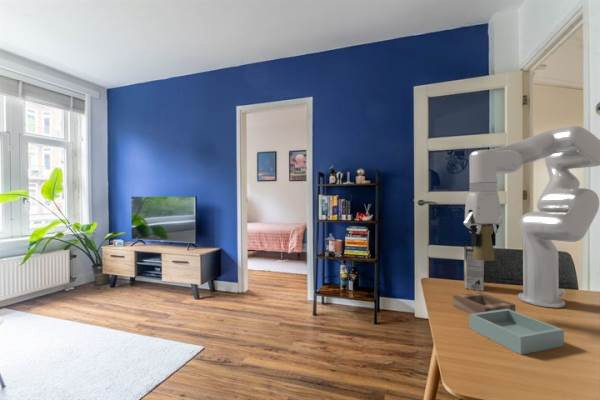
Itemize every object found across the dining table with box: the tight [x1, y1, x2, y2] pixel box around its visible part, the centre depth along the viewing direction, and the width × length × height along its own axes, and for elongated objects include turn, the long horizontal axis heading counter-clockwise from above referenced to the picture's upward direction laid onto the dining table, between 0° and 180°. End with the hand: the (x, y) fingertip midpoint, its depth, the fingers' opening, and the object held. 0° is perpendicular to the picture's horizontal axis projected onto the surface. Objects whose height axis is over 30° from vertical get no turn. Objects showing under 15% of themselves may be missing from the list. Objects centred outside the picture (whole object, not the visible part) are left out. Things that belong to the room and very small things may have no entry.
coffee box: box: [463, 245, 485, 292], centre depth 117 cm, size 9×6×16 cm
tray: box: [468, 309, 565, 355], centre depth 74 cm, size 14×14×4 cm
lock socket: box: [452, 292, 516, 314], centre depth 91 cm, size 12×12×4 cm
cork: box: [473, 224, 496, 262], centre depth 91 cm, size 6×6×11 cm
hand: (483, 245), depth 91 cm, fingers closed on cork, 4 cm apart
